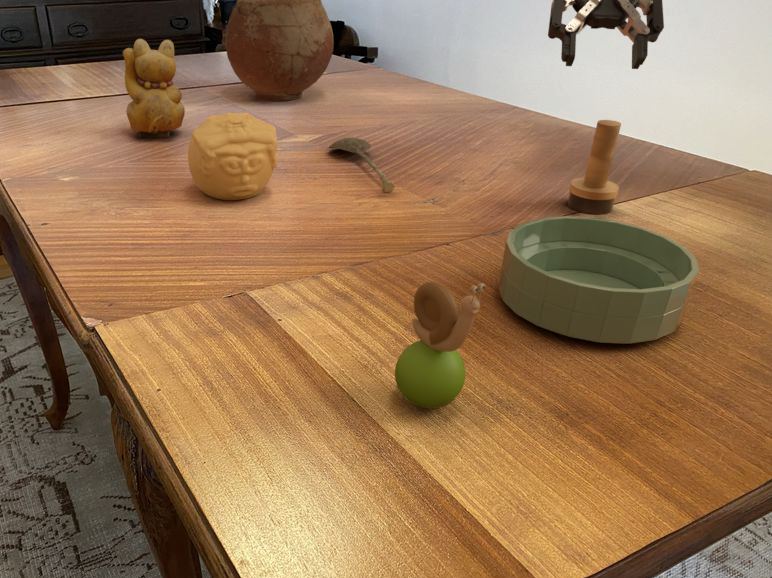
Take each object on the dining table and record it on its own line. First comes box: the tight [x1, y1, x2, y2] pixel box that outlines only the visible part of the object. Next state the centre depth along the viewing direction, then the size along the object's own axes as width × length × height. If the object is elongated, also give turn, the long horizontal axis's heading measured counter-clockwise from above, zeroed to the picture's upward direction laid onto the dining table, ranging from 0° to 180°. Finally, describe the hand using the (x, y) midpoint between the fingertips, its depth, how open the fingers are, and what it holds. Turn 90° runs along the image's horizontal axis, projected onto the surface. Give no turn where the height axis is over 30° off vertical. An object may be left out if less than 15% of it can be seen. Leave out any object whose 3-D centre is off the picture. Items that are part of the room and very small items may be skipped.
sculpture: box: [187, 111, 278, 201], centre depth 94 cm, size 12×12×11 cm
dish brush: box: [567, 119, 622, 215], centre depth 91 cm, size 6×6×11 cm
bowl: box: [497, 215, 700, 345], centre depth 69 cm, size 17×17×6 cm
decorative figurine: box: [122, 38, 186, 139], centre depth 117 cm, size 10×8×15 cm
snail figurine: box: [394, 281, 486, 409], centre depth 53 cm, size 5×6×12 cm
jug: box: [224, 0, 335, 102], centre depth 138 cm, size 22×22×30 cm
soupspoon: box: [328, 137, 396, 194], centre depth 106 cm, size 22×3×7 cm
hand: (603, 64), depth 93 cm, fingers open, 8 cm apart
